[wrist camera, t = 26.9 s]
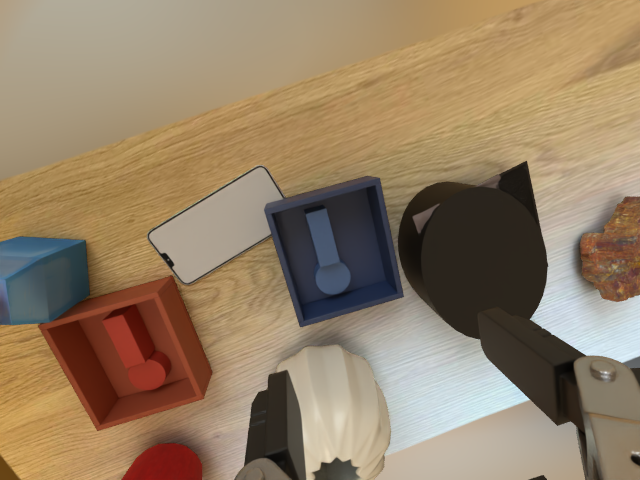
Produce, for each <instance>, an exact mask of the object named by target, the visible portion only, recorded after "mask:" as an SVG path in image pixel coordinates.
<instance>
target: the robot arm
mask: <svg viewBox="0 0 640 480" xmlns="http://www.w3.org/2000/svg"><path fill="white" fill-rule="evenodd" d="M477 317H478V325H479V333H480V340H481V346H482V349H483V351H484V353H485V355H486V357H487V358H488V359H489V360H490V361H491V362H492V363H493V364H494V365H495V366H496V367H497V368H498V369H499V370H500V371H501V372H502V373H503V374H504V375H505V376H506V377H507V378H508V379H509V380H510V381H511V382H512V383H513V384H515V385H516V386H517V387H518V388H519V389H520V390H521V391H522V392H523V393H524V394H525V395H526V396H527V397H528V398H529V399H530V400H531V401H532V402H534V404H535V405H536V406H537V407H539V408H540V409H541V410H542V411H543V412H544V413H545V414H546V415H547V416H548V417H549V418H550V419H551V420H552V421H553V422H554V423H555V424H556V425H557V426H558V425H561V424H564V423H567V422H570V421H571V422H572V423H574V424H575V425H576V429H577V430H576V431H577V438H578V444H579V449H580V454H581V459H582V464H583V470H584V475H585V480H640V368H628V367H627V366H626V365H624V364H623V363H621V362H619V361H616V360H614V359H611V358H607V357H602V356H586V355H584V354H583V353H581V352H580V351H578V350H577V349H575V348H573V347H572V346H570V345H569V344H567V343H566V342H564V341H562V340H561V339H559V338H558V337H556V336H555V335H551V333H550V332H548V331H547V330H545V329H542V327H540V326H539V325H537V324H536V323H534V322H533V321H531V320H529V319H526V318H523V317H520V316H517V315H514V316H511V315H510V314H508V313H507V312H505V311H504V310H502V309H501V308H499V307H495V308H491V309H488V310H485V311H481V312H479V313H478V316H477ZM250 416H251V418H250V423H249V427H250V428H249V431H248V439H247V447H246V455H245V463H244V467H243V468H242V469H241V470H240V471H239V473H238V474H237V476H236V477H235V479H234V480H306V468H305V455H304V442H303V429H302V417H301V410H300V406H299V402H298V399H297V396H296V393H295V390H294V387H293V384H292V381H291V378H290V375H289V372H288V370H284V371H280V372H277V373H274V374H270V375H269V377H268V390H264V391H261V392H258V394H257V396H256V397H255V399H254V401H253V403H252V407H251V415H250ZM530 480H547V479H546V478H545V477H544V475H542V476H539V477H536V478H533V479H530Z"/></svg>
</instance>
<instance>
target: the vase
mask: <svg viewBox="0 0 640 480" xmlns="http://www.w3.org/2000/svg"><path fill="white" fill-rule="evenodd" d="M284 370H288V372H289V375H290V378H291V381H292V384H293V387H294V390H295V393H296V396H297V399H298V402H299V406H300V410H301V417H302V429H303V442H304V455H305V468H306V480H374V479H375V478H376V477H377V476H378V475H379V473H380V472H381V471H382V470H383V468H384V454H385V452H386V450H387V448H388V446H389V444H390V435H391V426H390V418H389V412H388V407H387V404H386V400H385V397H384V394H383V392H382V390H381V388H380V386H379V385H378V383H377V382H376V381H375V379H374V376H373V372H372V369H371V367H370V365H369V363H368V362H367V360H366V359H365V358H363V357H360V356H358V355H355V354H352V353H349V352H347V351H346V350H345V349H344V348H343V347H342V346H340V345H325V346H307V347H305V348H303V349H302V350H301V351H300V352H298V353H297V354H296V355H294V356H292V357H290V358H288V359H286V360H285V361H283V362H281V363H279V364H278V366H277V370H276V373H277V372H280V371H284ZM266 390H268V388H267V389H266Z"/></svg>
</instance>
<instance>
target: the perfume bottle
mask: <svg viewBox="0 0 640 480" xmlns="http://www.w3.org/2000/svg"><path fill="white" fill-rule="evenodd" d="M89 295H90V292H89V279H88V267H87V254H86V241H85V240H70V239H54V238H37V237H16V238H13V239H9V240H6V241H2V242H0V325H20V324H36V323H50V322H51V321H53V320H54V319H56V318H57V317H58V316H60V315H61V314H63V313H64V312H66V311H67V310H69V309H70V308H71V307H73V306H74V305H76V304H77V303H79V302H80V301H82V300H83V299H84V298H86V297H87V296H89Z"/></svg>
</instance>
